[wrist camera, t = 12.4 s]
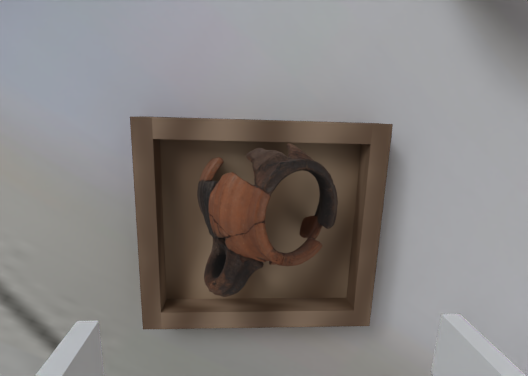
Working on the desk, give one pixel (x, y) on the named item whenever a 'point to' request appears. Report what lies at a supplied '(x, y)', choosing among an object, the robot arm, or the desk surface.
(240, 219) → the broken clay pot
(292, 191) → the walnut tray
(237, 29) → the desk surface
